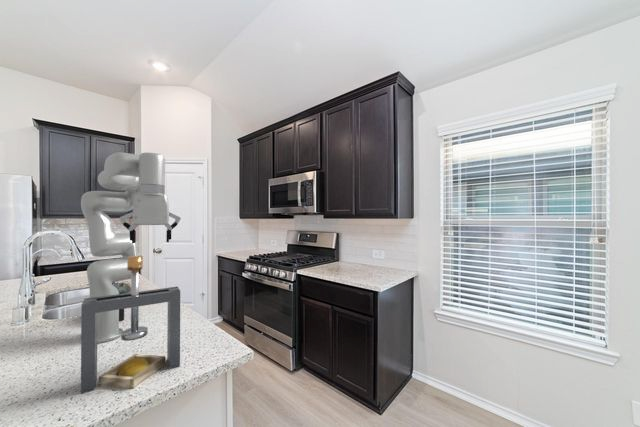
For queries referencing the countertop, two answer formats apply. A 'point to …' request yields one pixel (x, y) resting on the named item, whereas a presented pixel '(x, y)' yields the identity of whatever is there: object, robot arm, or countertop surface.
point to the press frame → (121, 302)
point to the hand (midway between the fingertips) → (151, 242)
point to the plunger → (134, 266)
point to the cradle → (131, 382)
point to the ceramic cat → (121, 290)
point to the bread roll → (133, 367)
